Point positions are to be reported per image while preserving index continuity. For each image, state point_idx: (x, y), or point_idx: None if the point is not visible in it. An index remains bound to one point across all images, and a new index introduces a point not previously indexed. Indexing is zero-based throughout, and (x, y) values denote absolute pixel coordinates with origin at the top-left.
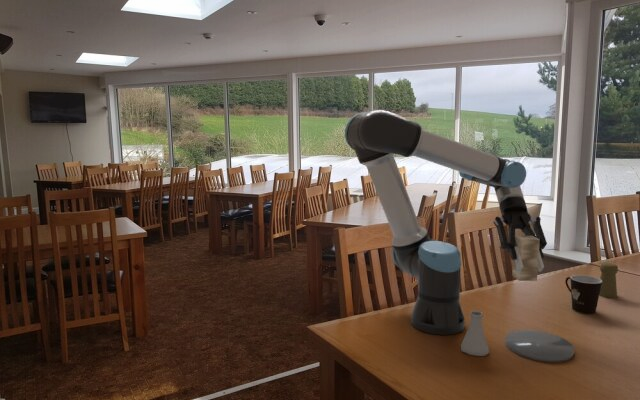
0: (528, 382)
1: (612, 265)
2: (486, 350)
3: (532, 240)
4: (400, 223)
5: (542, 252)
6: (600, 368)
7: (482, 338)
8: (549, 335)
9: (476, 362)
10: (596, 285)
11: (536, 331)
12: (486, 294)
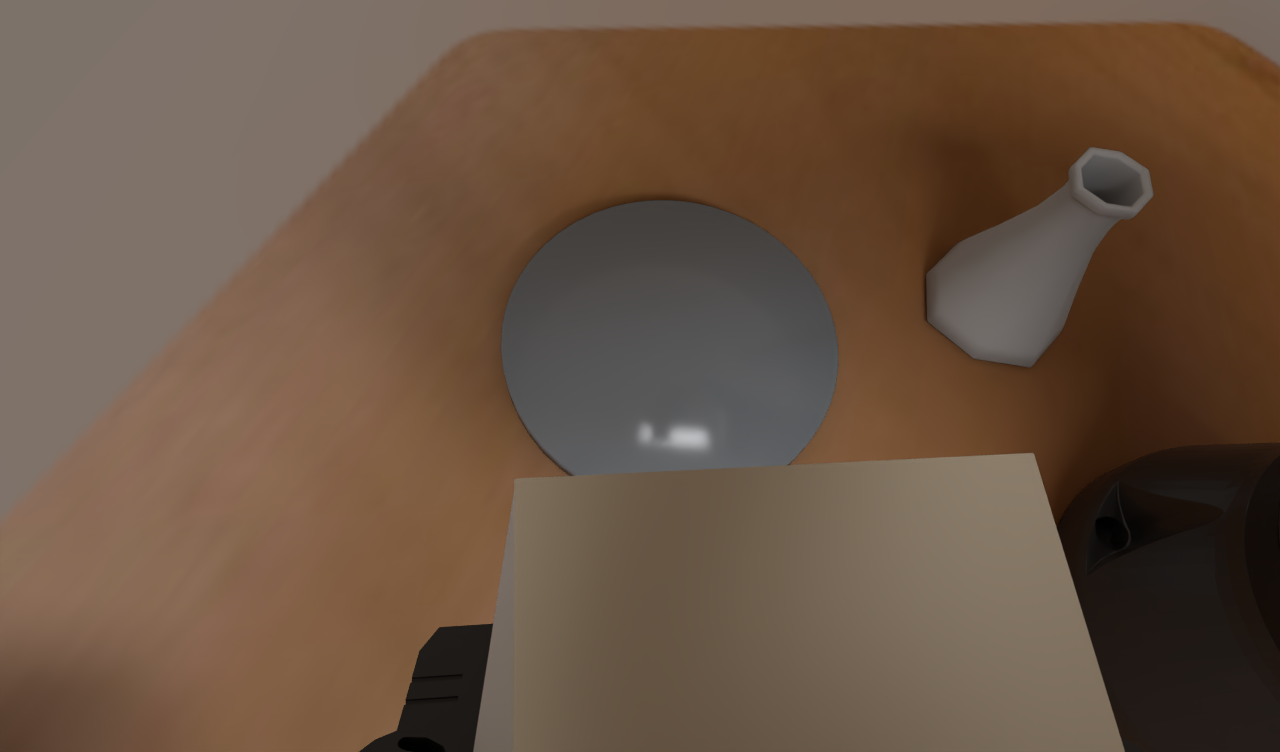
0: (808, 83)
1: None
2: (949, 255)
3: (726, 473)
4: None
5: (406, 711)
6: (475, 175)
7: (998, 228)
8: (572, 430)
9: (986, 203)
10: None
11: None
12: None
